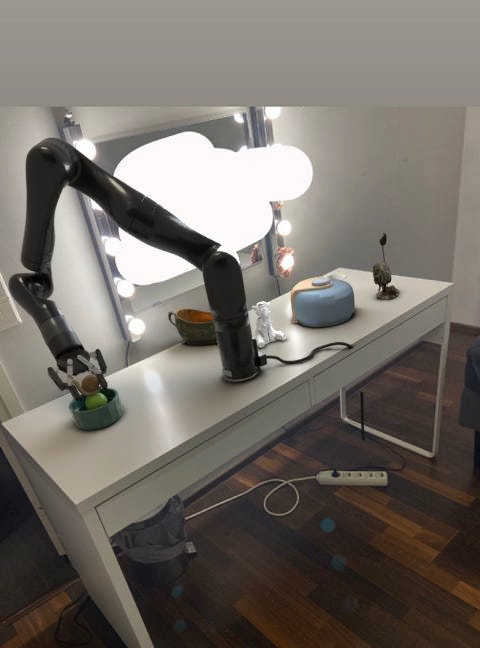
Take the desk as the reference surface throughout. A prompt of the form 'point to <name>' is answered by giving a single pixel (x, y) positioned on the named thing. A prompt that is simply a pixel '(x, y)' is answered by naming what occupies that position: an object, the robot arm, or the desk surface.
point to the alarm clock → (322, 302)
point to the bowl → (97, 411)
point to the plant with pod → (383, 276)
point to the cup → (194, 326)
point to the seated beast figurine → (265, 326)
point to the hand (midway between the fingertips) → (93, 394)
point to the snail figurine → (91, 392)
